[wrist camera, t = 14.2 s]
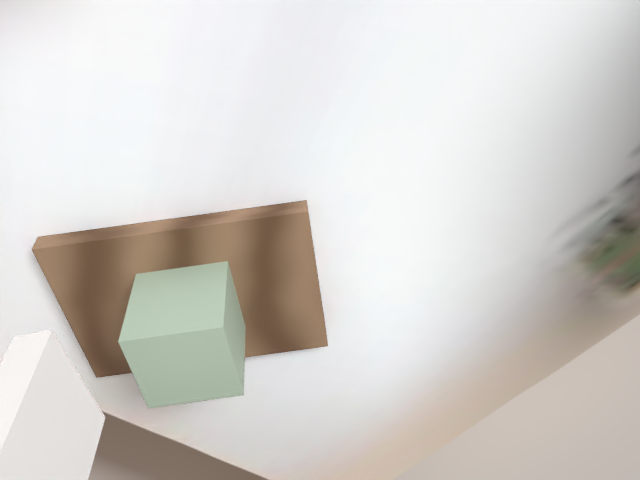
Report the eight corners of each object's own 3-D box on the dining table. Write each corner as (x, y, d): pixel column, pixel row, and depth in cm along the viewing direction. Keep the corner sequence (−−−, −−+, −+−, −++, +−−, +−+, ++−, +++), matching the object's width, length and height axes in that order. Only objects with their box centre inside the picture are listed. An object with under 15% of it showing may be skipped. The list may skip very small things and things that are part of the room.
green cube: (227, 261, 45) (223, 327, 40) (245, 326, 50) (243, 395, 44) (136, 274, 45) (118, 341, 40) (161, 338, 50) (148, 408, 44)
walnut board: (306, 200, 45) (307, 211, 43) (326, 333, 53) (327, 346, 52) (37, 237, 45) (31, 249, 43) (100, 364, 53) (96, 377, 52)
